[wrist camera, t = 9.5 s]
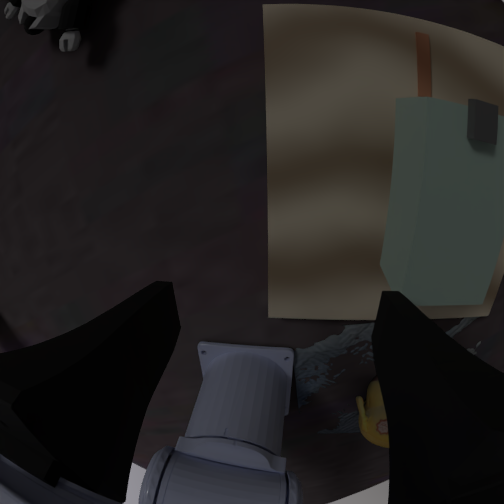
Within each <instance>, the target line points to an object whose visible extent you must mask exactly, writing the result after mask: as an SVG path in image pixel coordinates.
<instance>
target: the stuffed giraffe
mask: <svg viewBox="0 0 504 504" xmlns="http://www.w3.org/2000/svg"><path fill="white" fill-rule="evenodd" d="M480 317H481V316H480ZM476 318H478V317H465V318H464V319H463V320H462V321H461V322H460V324H459V325H456V326H454V327H453V328H452V329H450V331H447V332H445V333H446V334H448V335H449V336H450V337H451V338H453V337H454V335H456V333H458V332H460V331H462V329H463V328H464V327H466V326H467V325H468V324H470V323H471V322H472V321H473V320H475V319H476ZM374 324H375V323H373V322H371V323H368V324H357V325H342V326H344V327H345V329H344V331H343V332H342V333H341V334H340V335H339V336H337V335H332V336H329V337H328V338H327V339H326V340H323V341H320V342H317V343H314V346H312V347H309V348H306V349H300V348H296V351H294V361H293V365H294V373H295V379H296V390H297V399H298V408H300V406H302V405H306V404H308V403H309V402H306V401H305V399H308V398H307V396H311V395H310V394H312V393H318V392H316V391H319V387H323V388H327V387H325V386H322V384H328V383H327V382H325V381H328V379H326V377H325V375H329V373H327V370H326V369H329V367H330V366H327V365H325V364H323V363H326V364H327V363H328V362H329V361H330V359H329V358H330V357H337V356H339V354H346V353H347V351H346V350H345V349H346V348H348V347H350V346H351V345H356V344H357V343H358V342H360V341H363V340H364V339H365V340H369V342H372V340H371V336H372V332H373V328H374ZM358 336H359V339H355V338H356V337H358ZM364 337H365V338H364ZM480 343H481V341H480V342H478V344H477V346H476V348H477V347H478V346H479V345H480ZM367 345H368V343H366V344H365V346H363V347H361V348H360V349H359V347H356V348H355V349H359V350H358V351H361V350H365V348H366V347H367ZM370 348H371V349H372V345H371V346H370ZM355 349H354V350H352V351H351V352H354V351H355ZM366 350H367V349H366ZM467 350H468V351H469V352H471V353H474V351H475V350H473V348H472V349H470V348H469V349H467ZM357 353H359V352H356V353H354V354H353V355H355V354H357ZM476 353H477V352H475V353H474V354H476ZM366 354H369V355H370V356H372V357H373V353H371V352H368V353H366ZM366 354H363V355H362V357H365V355H366ZM474 354H473V355H474ZM325 359H327V360H325ZM368 359H370V360H371V361H374V359H371V358H369V357H368V358H367V360H368ZM362 360H363V359H362ZM361 363H363V361H362V362H361ZM361 363H360V364H361ZM365 364H367V362H365ZM316 365H317V366H319V367H318V369H319V370H316V371H314V369H315V367H314V366H316ZM331 365H333V364H332V363H331ZM301 368H307V370H301V371H300V369H301ZM329 370H332V369H329ZM344 370H346V369H343V371H341V372H344ZM341 372H340V374H341ZM320 373H325V375H320ZM340 374H337V375H336V376H333V377H336V378H337V377H338V376H339V375H340ZM298 375H300V376H299V377H297V376H298ZM314 375H317V376H319V377H320V378H317V381H315V380H312V379H309V380H310V381H309V382H307V383H306V384H305V383H304V382H305V381H306V380H305V379H302V378H306V377H312V376H314ZM336 378H334V379H336ZM299 379H302V380H301V381H299ZM324 380H325V381H324ZM329 382H333V383H336V382H334V381H331V380H329ZM297 383H298V384H297ZM328 385H331V384H328ZM310 402H311V401H310ZM355 402H357V406H358V410H359V411H355V412H352V413H349V414H348V413H345V414H343V413H342V412H340V411H337V412H339V414H343V415H341V416H340V417H338V418H339V419H340V420H339V421H340V422H341V423H338V424H339V426H336V427H337V429H333V430H328V429H324V430H321V431H319V432H317V433H321V434H324V433H354V432H361V433H362V435H363V436H364V437H365V438H366V439H367V440H368V441H370V442H371V443H373V444H376V445H378V446H381V447H386V448H389V437H388V424H387V417H386V412H385V407H384V403H383V398H382V394H381V389H380V385H379V381H378V377H377V376H376V377H375V378H374V379H373V380H372V381H371V382H370V383H369V386H368V389H367V396H366V400H365V401H363V398H362V397H361V396H357V397H356V401H355ZM348 405H349V404H348ZM343 410H344V411H345V409H343ZM300 412H301V411H299V413H300ZM332 414H333V413H332ZM334 414H335V413H334ZM347 414H348V415H347ZM344 415H346V416H344Z"/></svg>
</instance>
